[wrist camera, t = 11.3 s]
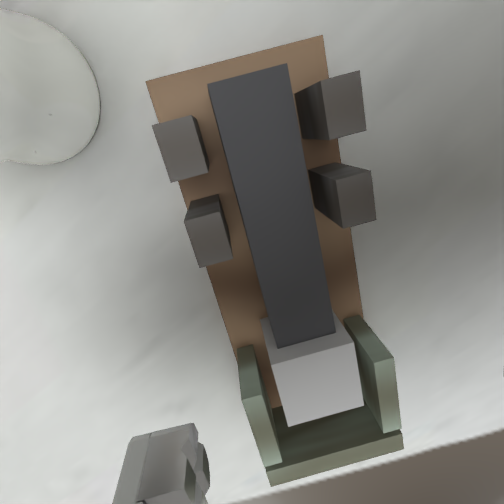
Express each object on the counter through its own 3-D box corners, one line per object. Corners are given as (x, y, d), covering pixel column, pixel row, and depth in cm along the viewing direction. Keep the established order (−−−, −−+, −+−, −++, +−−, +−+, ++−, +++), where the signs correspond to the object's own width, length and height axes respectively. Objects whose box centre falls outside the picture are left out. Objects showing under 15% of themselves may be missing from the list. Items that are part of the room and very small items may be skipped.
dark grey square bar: (197, 96, 15) (192, 83, 11) (283, 73, 15) (307, 52, 11) (274, 372, 20) (288, 427, 17) (336, 355, 20) (364, 405, 17)
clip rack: (149, 84, 15) (120, 62, 10) (316, 40, 15) (360, 0, 11) (257, 416, 23) (268, 490, 18) (367, 385, 23) (407, 450, 18)
